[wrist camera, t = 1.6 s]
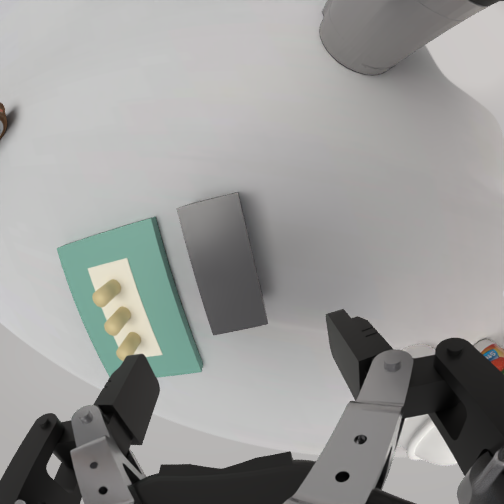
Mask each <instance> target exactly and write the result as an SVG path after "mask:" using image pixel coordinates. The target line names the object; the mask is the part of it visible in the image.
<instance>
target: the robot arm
mask: <svg viewBox="0 0 504 504" xmlns="http://www.w3.org/2000/svg"><path fill="white" fill-rule="evenodd" d="M498 1H504V0H328V1H327V2H326V4H325V6H324V8H323V10H322V12H323V14H324V18H323V20H322V22H321V24H320V37H321V40H322V42H323V44H324V46H325V48H326V49H327V51H328V52H329V53H330V54H331V55H332V56H333V57H334V58H335V59H336V60H337V61H338V62H340V63H341V64H343V65H344V66H346V67H347V68H349V69H352V70H354V71H356V72H359V73H363V74H370V75H375V74H381V73H383V72H386V71H387V70H388V69H390V68H392V67H394V66H395V65H396V64H397V63H399V62H400V61H401V60H403V59H405V58H406V57H407V56H409V55H410V54H412V53H413V52H415V51H416V50H418V49H419V48H421V47H422V46H424V45H425V44H427V43H428V42H430V41H432V40H433V39H435V38H436V37H438V36H439V35H441V34H442V33H444V32H446V31H447V30H449V29H450V28H452V27H454V26H456V25H457V24H459V23H460V22H462V21H464V20H465V19H467V18H469V17H470V16H472V15H474V14H476V13H477V12H479V11H481V10H483V9H485V8H486V7H488V6H490V5H492V4H494V3H496V2H498ZM326 322H327V329H328V336H329V343H330V349H331V352H332V356H333V358H334V360H335V362H336V364H337V366H338V368H339V370H340V372H341V373H342V375H343V377H344V379H345V381H346V383H347V385H348V387H349V389H350V391H351V393H352V395H353V397H354V399H355V401H356V402H355V401H350V402H349V403H348V405H347V406H346V408H345V410H344V412H343V414H342V416H341V418H340V420H339V422H338V424H337V426H336V428H335V430H334V431H333V433H332V435H331V437H330V439H329V440H328V442H327V444H326V446H325V448H324V449H323V451H322V453H321V454H320V456H319V458H318V460H317V461H309V460H293V458H292V455H291V452H285V453H280V454H275V455H270V456H264V457H259V458H254V459H252V460H249V461H246V462H243V463H240V464H237V465H233V466H230V467H227V468H224V469H217V468H210V467H203V466H197V465H191V464H182V465H161V467H160V471H159V473H158V474H154V475H151V476H148V477H146V475H145V474H144V472H143V470H142V469H141V467H140V465H139V463H138V461H137V460H136V458H135V456H134V454H133V452H132V451H131V450H130V449H129V448H130V445H142V443H143V440H144V437H145V434H146V431H147V428H148V425H149V422H150V419H151V416H152V413H153V410H154V407H155V404H156V401H157V398H158V396H159V392H160V387H159V383H158V380H157V378H156V376H155V374H154V372H153V370H152V368H151V366H150V364H149V362H148V360H147V358H146V357H145V355H144V354H135V355H128V356H126V358H125V359H124V361H123V363H122V364H121V366H120V367H119V368H118V369H117V370H116V371H115V372H113V373H112V375H111V376H110V378H109V380H108V382H107V383H106V385H105V386H104V387H105V388H103V390H102V391H101V393H100V395H99V396H98V398H97V400H96V401H95V403H94V405H88V406H84V407H82V408H80V409H79V410H77V411H76V412H75V413H74V415H73V416H72V420H71V421H66V422H60V421H59V419H58V418H57V416H56V415H55V414H52V413H49V414H45V415H43V416H41V417H39V418H38V419H37V420H36V421H35V423H34V425H33V426H32V428H31V429H30V431H29V432H28V434H27V435H26V437H25V439H24V440H23V442H22V444H21V445H20V447H19V449H18V450H17V452H16V454H15V455H14V457H13V459H12V461H11V462H10V464H9V466H8V468H7V469H6V471H5V473H4V475H3V477H2V479H1V480H0V504H80V501H81V498H83V501H84V504H415V503H413V502H410V501H407V500H404V499H402V498H399V497H397V496H394V495H391V494H389V493H386V492H384V491H382V488H383V485H384V483H385V481H386V478H387V476H388V473H389V470H390V466H391V464H392V460H393V457H394V454H395V452H396V449H397V445H398V442H399V439H400V436H401V433H402V429H403V426H404V422H405V419H406V418H410V417H415V416H420V415H425V414H428V415H429V416H430V418H431V420H432V421H433V423H434V424H435V426H436V428H437V429H438V431H439V433H440V434H441V436H442V437H443V439H444V441H445V442H446V444H447V446H448V447H449V449H450V451H451V453H452V454H453V456H454V458H455V459H456V461H457V463H458V465H459V466H460V468H461V470H462V472H463V474H464V475H465V477H464V478H463V480H462V481H461V483H460V485H459V487H458V491H457V497H458V501H459V504H504V374H503V373H502V372H501V371H500V370H499V369H498V368H497V367H495V366H494V365H493V364H492V363H491V362H490V361H489V360H488V359H487V358H486V357H485V356H484V355H483V354H482V353H480V352H479V351H478V350H477V349H476V348H475V347H474V346H473V345H472V344H470V343H469V342H468V341H466V340H464V339H461V338H449V339H446V340H444V341H442V342H440V343H439V344H438V345H437V347H436V350H435V355H430V356H425V357H420V358H412V356H411V355H410V354H409V353H408V352H406V351H403V350H393V348H392V347H391V346H390V345H389V344H388V343H387V342H386V341H385V339H384V338H383V337H382V336H381V335H380V334H379V333H378V332H377V330H376V329H375V328H373V326H372V325H371V324H370V323H369V322H368V320H365V319H363V318H360V317H355V318H352V319H351V318H350V316H349V315H348V314H347V313H346V311H345V310H344V309H342V310H338V311H335V312H332V313H328V314H326ZM52 453H54V454H55V456H56V457H57V458H58V459H59V460H60V461H61V462H62V463H61V465H60V467H59V469H58V472H57V474H56V477H55V479H54V480H53V479H52V478H51V477H50V476H49V475H48V473H47V470H46V465H47V463H48V461H49V459H50V457H51V455H52Z"/></svg>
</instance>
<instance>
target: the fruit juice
mask: <svg viewBox="0 0 504 504" xmlns="http://www.w3.org/2000/svg"><path fill="white" fill-rule="evenodd" d="M474 347H475V348H476V349H477V350H478V351H479V352H480V353H482V354H483V355H484V356H485V357H486V358H487V359H488V360H489V361H490V362H491V363H492V364H493V365H494V366H495V367H497V368H498V369H499V370H500V371H501V372H502V373H503V374H504V349H502V348H501V347H500V346H498V345H497V344H496V343H494V342H493V341H491V340H488V339H484V340H481V341H479V342H478V343H477V344H475V345H474Z"/></svg>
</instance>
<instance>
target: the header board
mask: <svg viewBox="0 0 504 504" xmlns="http://www.w3.org/2000/svg"><path fill="white" fill-rule="evenodd" d="M57 251H58V254H59V258H60V261H61V264H62V267H63V270H64V273H65V276H66V279H67V282H68V285H69V288H70V291H71V293H72V296H73V299H74V301H75V304H76V306H77V309H78V311H79V314H80V316H81V319H82V321H83V323H84V326H85V328H86V330H87V333H88V335H89V337H90V339H91V341H92V343H93V345H94V348H95V350H96V352H97V354H98V356H99V358H100V360H101V362H102V364H103V365H104V367H105V369H106V371H107V373H108V375H109V377H110V376H111V375H112V373H113V372H115V371H116V370H117V369H118V368H119V367H120V366H121V364H122V363H123V361H124V359H125V358H126V356H128V355H135V354H144V355H145V357H146V358H147V360H148V362H149V364H150V366H151V368H152V370H153V372H154V374H155V376H156V377H165V376H174V375H182V374H190V373H197V372H202V367H203V363H202V360H201V358H200V355H199V352H198V350H197V347H196V344H195V342H194V339H193V336H192V334H191V331H190V328H189V325H188V322H187V319H186V317H185V314H184V311H183V308H182V305H181V302H180V299H179V296H178V293H177V289H176V286H175V283H174V280H173V277H172V273H171V270H170V267H169V263H168V260H167V257H166V253H165V250H164V246H163V243H162V239H161V235H160V232H159V228H158V224H157V220H156V217H153V218H149V219H146V220H142V221H139V222H135V223H132V224H129V225H125V226H122V227H119V228H116V229H113V230H109V231H106V232H103V233H100V234H97V235H94V236H91V237H88V238H85V239H82V240H79V241H76V242H73V243H70V244H67V245H64V246H62V247H59V248H57Z"/></svg>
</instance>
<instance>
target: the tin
mask: <svg viewBox="0 0 504 504" xmlns="http://www.w3.org/2000/svg"><path fill="white" fill-rule="evenodd" d="M6 128H7V118H6V114H5V108H4V106H3V104H2V103H0V139H1V138H2V136H3V135H4V133H5V131H6Z"/></svg>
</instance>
